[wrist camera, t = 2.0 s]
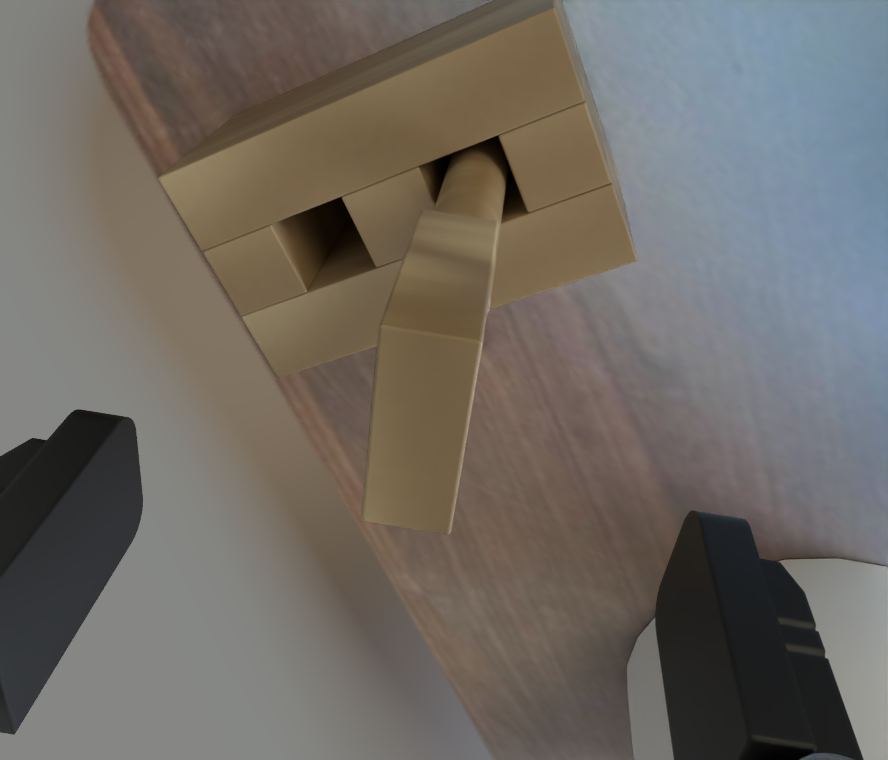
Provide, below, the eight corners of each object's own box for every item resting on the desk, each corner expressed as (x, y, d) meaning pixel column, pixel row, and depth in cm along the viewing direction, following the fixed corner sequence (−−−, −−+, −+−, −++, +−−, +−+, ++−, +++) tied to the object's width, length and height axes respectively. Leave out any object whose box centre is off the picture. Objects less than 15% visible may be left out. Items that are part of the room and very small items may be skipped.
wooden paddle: (456, 174, 31) (355, 521, 15) (471, 62, 28) (371, 324, 12) (504, 182, 31) (455, 538, 15) (522, 70, 28) (490, 343, 12)
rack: (233, 115, 30) (156, 178, 24) (553, -26, 27) (554, 6, 21) (325, 288, 34) (277, 379, 28) (620, 182, 30) (637, 261, 24)
